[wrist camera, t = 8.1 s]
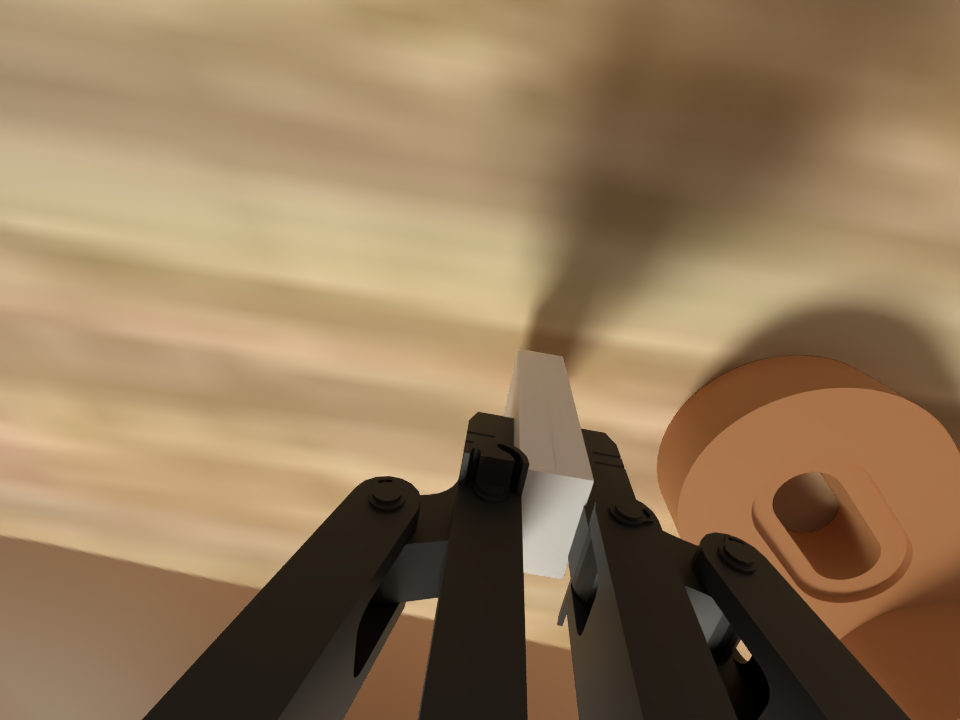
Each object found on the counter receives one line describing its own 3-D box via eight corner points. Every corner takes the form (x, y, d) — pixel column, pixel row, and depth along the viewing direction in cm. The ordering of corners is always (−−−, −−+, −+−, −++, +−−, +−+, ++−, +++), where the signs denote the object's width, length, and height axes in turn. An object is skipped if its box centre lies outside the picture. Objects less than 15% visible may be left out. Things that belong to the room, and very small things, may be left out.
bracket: (1022, 637, 20) (1261, 861, 13) (825, 706, 22) (948, 923, 16) (832, 305, 15) (1053, 402, 9) (613, 435, 18) (664, 583, 11)
